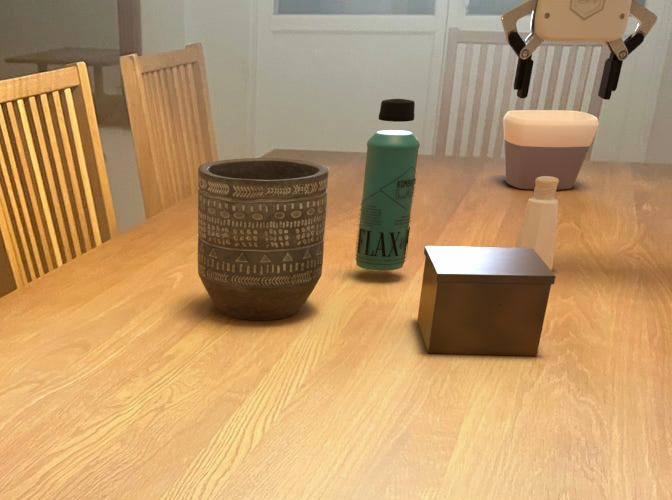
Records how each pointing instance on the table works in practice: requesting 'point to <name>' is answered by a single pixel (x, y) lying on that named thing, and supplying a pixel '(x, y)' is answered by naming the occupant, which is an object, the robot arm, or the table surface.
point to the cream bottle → (540, 220)
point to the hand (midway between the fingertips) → (562, 97)
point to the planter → (261, 234)
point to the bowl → (546, 145)
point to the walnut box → (483, 300)
